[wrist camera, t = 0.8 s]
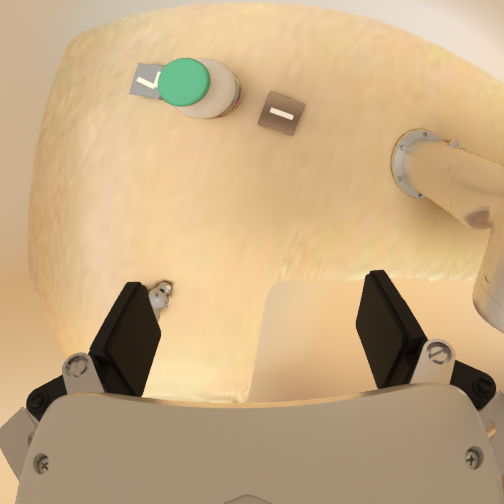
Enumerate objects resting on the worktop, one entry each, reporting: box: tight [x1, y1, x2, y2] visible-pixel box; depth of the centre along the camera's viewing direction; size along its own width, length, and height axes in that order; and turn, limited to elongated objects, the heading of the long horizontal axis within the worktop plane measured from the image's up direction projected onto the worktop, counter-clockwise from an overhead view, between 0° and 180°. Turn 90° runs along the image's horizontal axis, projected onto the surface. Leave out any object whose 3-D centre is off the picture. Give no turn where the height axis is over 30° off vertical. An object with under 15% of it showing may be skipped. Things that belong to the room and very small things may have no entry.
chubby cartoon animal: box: [149, 282, 172, 322], centre depth 52 cm, size 7×12×8 cm, turn 125°
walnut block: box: [258, 91, 305, 136], centre depth 36 cm, size 5×5×5 cm
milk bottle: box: [157, 58, 242, 119], centre depth 28 cm, size 8×8×20 cm
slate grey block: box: [129, 63, 164, 100], centre depth 33 cm, size 5×5×5 cm
